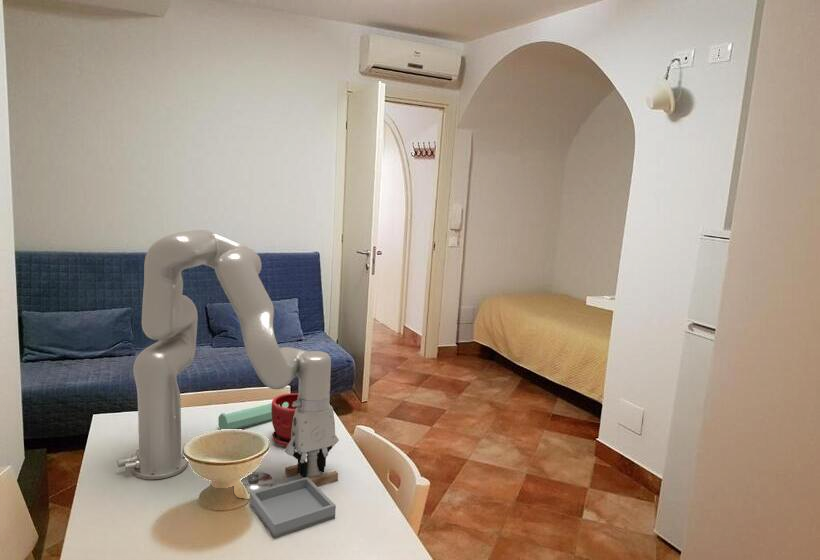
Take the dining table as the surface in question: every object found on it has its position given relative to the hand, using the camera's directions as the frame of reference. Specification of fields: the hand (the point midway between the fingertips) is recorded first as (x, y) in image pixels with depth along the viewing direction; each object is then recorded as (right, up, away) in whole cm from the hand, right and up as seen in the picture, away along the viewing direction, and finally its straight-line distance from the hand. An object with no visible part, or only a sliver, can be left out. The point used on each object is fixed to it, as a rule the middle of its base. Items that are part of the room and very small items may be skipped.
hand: (311, 472), depth 136 cm
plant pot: (-8, +2, +20) cm, 22 cm away
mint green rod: (-21, +4, +31) cm, 38 cm away
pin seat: (0, -2, 0) cm, 2 cm away
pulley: (-13, -2, -6) cm, 14 cm away
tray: (-2, -4, -14) cm, 15 cm away
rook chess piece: (0, -2, 0) cm, 2 cm away
